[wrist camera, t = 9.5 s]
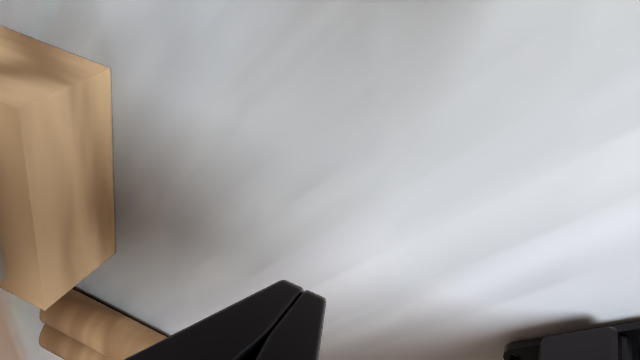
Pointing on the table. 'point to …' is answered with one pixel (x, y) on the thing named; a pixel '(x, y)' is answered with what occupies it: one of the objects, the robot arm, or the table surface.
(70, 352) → the roller
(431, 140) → the table surface
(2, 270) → the grey rectangular block
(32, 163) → the tan wooden block
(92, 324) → the roller
